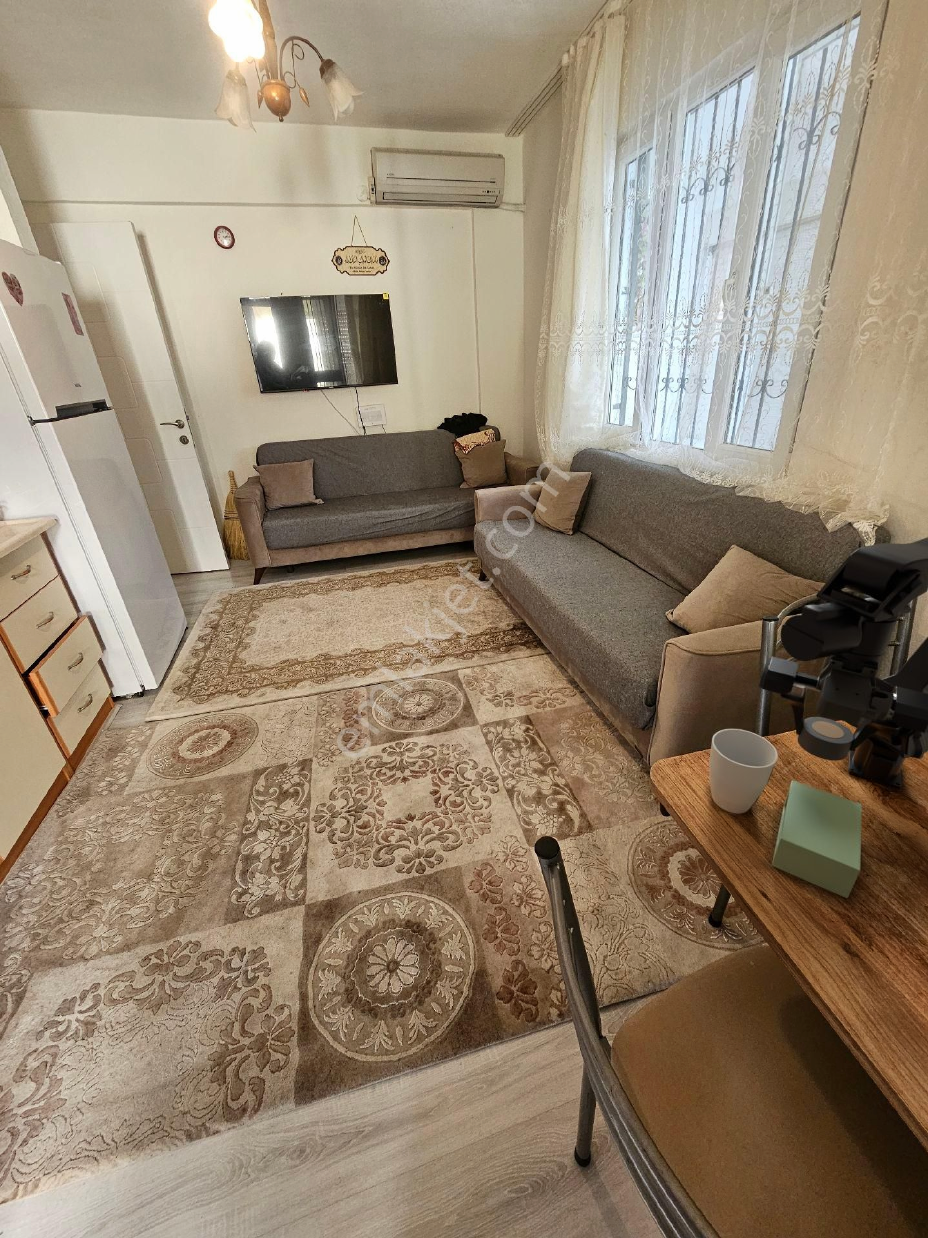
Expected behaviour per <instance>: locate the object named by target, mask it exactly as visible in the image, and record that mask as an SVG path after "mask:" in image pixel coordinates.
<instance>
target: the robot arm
mask: <svg viewBox="0 0 928 1238" xmlns="http://www.w3.org/2000/svg"><path fill="white" fill-rule="evenodd" d="M844 588H846V589H847V590H849V591H852V592H855V593H858V594H859V595H862V596H865V597H866V598H862V597H860V596H857V595H855V594H852V593H850V592H847V591H845V590H843V589H844ZM927 592H928V536H927V537H924V538H921V539H919V540H916V541H913V542H907V543H893V542H892V543H889V542H888V543H887V542H881V543H876V544H870V545H865V546H861V547H859V548H858V549H856V550H855V551H853V552H852V553H851V554H850V555H849V556H848V557H847V558H846V559H845V560H843V562H842V563H841V564H840V566H839V567H838V568H837V569H836V570H835V571H834V573H832V575H831V577H830V578H829V579H828V580H827V581H826V582H825V584H824V585H823V586H822V587H821V588H820V590H819V591H818V592H817V593H816V595H815V597H816V598H817V599H819V600H822V601H824V602H825V603H821V604H808V605H804V606H803V607H802V611H801V614H795V615H792V616H790V617H789V618H787V619H786V621H785V622H784V623H783V624H782V625H781V628H780V640H781V645H782V646H783V649H784V650H785V651H786V653H787V654H788V655H789V656H791V657H792V658H793V659H795V660H798V661H801V662H811V661H814V660H815V661H816V660H820V659H823V662H822V665H821V668H820V672H819V674H818V676H817V675H812V674H809V673H804V672H800V671H798V669H799V665H800V663H799V662H798V661H797V662H796V661H792V660H789V659H784V658H780V657H776V656H771V657H769V658H767V659H766V662H765V664H764V667H763V670H762V673H761V677H760V680H759V684H758V687H759V688H761V690H765V691H769V692H771V693H775V694H779V697H780V698H781V699H782V700H787V701H788V702H789V704H790V706H791V709H792V713H793V719H794V726H795V734H796V735H798V736H799V735H800V732H801V729H802V725H803V721H804V720H805V712H806V703H807V697H808V696H807V695H808V690H811V691H814V692H817V693H819V696H818V701H817V705H816V710H815V711H816V712H817V714H818V715H819V716H821V717H822V718H827V719H832V720H837V721H840V722H844V723H846V724H848V725H849V726H851V727H854V728H855V731H854V733H853V736H854V739H853V742H852V744H851V747H850V749H849V752H848V766H847V772H848V773H850V774H852V775H854V776H857V777H860V778H864V779H867V780H870V781H872V782H875V783H878V784H883V785H884V786H885V785H886V786H888V787H891V788H895V789H899V790H901V789H902V787H903V780H902V779H903V778H902V767H903V764H904V763H905V760H906V759H909V758H913V759H917V760H921V759H923V758H924V755H925V753H927V752H928V636H927V637H926V638H925V639H924V640H923V641H922V643H920V645H919V646H918V647H917V648H916V650H915V651H913V653H912V654H911V656H910V657H909V658H908V659H907V661H906V662H905V663H904V664H903V665H902V666H901V667H900V669H899V670H898V671H897V672H896V673H895V674H892V675H889V676H886V677H884V678H880V677H877V674H878V672H879V669H880V667H881V665H882V662H883V659H884V656H885V653H886V651H887V649H888V646H889V643H890V641H891V637H892V635H893V633H894V629H895V627H896V624H897V622H898V619H899V616H901V615H905V614H906V615H907V614H910V613H911V612H912V607H911V606H910V605H909V604H910V603H911V602H913V601H914V600H915V599H916V598H919V597H920V596H922V595H924V594H925V593H927Z"/></svg>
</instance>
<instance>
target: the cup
mask: <svg viewBox="0 0 928 1238" xmlns="http://www.w3.org/2000/svg"><path fill="white" fill-rule="evenodd" d="M710 745H711V746H710V754H709V760H708V761H709V762H708V769H709V770H708V776H709V777H708V779H709V780H708V781H709V782H708V783H709V789H710V792H711V797H712V800H713V802H714V803H715V804H716V805H717V807H719V808H720V809H722V810H723V811H726V812H727V813H728V812H729V813H732V814H744V813H746V812H748V811H749V810H750V809H751V807H753V806H754V805H755V804H756V802H757V801H758V800H759V798H760V797H761V795H762V793H763V792H764V790H765V788H766V787H767V785H768V783H769V782H770V778H771V776H772V774H773V771H774V768H775V766H776V763H777V761H778V757H779V755H778V751H777V749H776V747H775V746H774V745H773V743H771V742H770V741H769V740H768V739H766V738H765V737H763V736H761V735H759V734H757V733H754V732H752V731H749V730H746V729H741V728H725V729H721V730H719V731H717V732H715V733H714V734H713V736H712V738H711V744H710Z"/></svg>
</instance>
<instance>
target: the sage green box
mask: <svg viewBox="0 0 928 1238" xmlns="http://www.w3.org/2000/svg"><path fill="white" fill-rule="evenodd" d="M862 815H863V804H862V803H860V802H857V801H853V800H850V799H848V798H845V797H842V796H840V795H836V794H834V793H830V792H827V791H825V790H822V789H818V788H816V787H813V786H810V785H807V784H804V783H802V782H799V781H796V780H791V782H790V785H789V788H788V791H787V794H786V797H785V800H784V803H783V807H782V812H781V817H780V821H779V827H778V832H777V837H776V842H775V847H774V852H773V857H772V862H771V866H772V867H773V868H775V869H778V870H780V871H783V872H785V873H787V874H789V875H792V876H794V877H797V878H799V879H801V880H804V881H806V882H808V883H811V884H813V885H815V886H818V887H820V888H823V889H824V890H826V891H829V892H832V893H834V894H835V895H838V896H840V897H843V898H845V899H848V898H849V896H850V894H851V892H852V890H853V888H854V886H855V883H856V881H857V879H858V877H859V875H860V872H861V856H862V855H861V854H862V853H861V851H862V817H863V816H862Z"/></svg>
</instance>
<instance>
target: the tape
mask: <svg viewBox="0 0 928 1238" xmlns="http://www.w3.org/2000/svg"><path fill="white" fill-rule="evenodd" d="M853 735H854V733H853V732H852V731H851V730H850V728H848V727H847V726H846V725H844V724H843V723H840V722H839V721H836V720H835V719H832V718H826V717H823V716H821V717H820V716H811V717H807V718H804V719H803V725H802V729H801V732H800V735H798V736H797V743H798V745H799V746H800V748H801V749H803V750H804V751H805V752H807V754H810V755H812V756H814V757H816V758H819V759H822V760H826V761H833V762H835V761H836V762H837V761H842V760H845V759H846V758H847V757H848V756H849V749H850V747H851V744H852V742H853V739H854V736H853Z"/></svg>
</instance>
